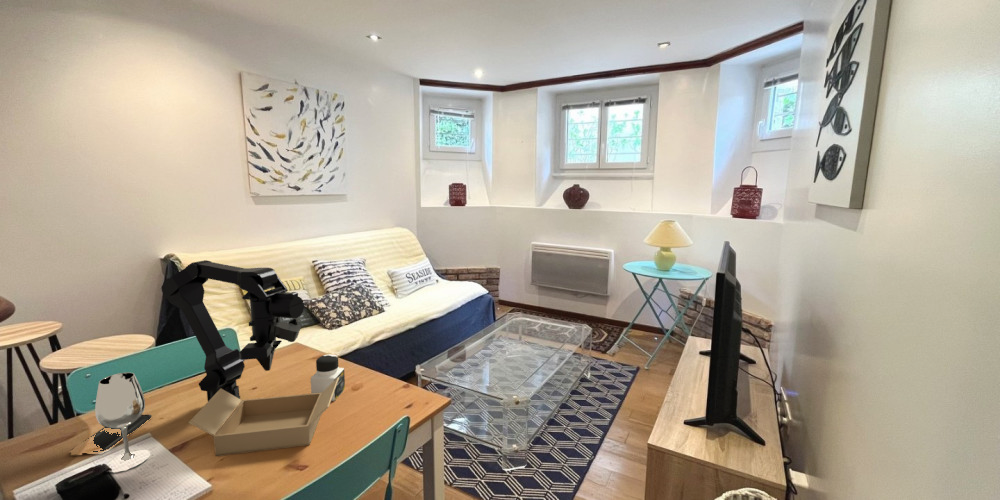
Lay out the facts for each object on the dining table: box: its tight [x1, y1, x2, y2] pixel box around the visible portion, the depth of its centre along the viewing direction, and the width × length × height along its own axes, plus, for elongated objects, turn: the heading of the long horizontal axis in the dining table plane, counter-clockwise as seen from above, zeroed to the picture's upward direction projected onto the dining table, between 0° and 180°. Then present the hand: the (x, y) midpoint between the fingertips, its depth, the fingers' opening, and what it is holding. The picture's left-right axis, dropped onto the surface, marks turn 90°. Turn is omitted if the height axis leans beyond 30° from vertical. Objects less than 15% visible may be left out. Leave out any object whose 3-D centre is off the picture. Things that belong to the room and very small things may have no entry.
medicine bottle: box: [310, 353, 346, 402], centre depth 116 cm, size 7×7×12 cm
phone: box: [84, 414, 153, 452], centre depth 96 cm, size 8×1×15 cm
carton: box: [213, 393, 322, 457], centre depth 99 cm, size 20×16×5 cm
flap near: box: [188, 388, 242, 437], centre depth 95 cm, size 6×15×1 cm
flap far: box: [309, 377, 339, 425], centre depth 101 cm, size 6×15×1 cm
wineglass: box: [94, 371, 146, 461], centre depth 86 cm, size 8×8×20 cm
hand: (267, 370), depth 106 cm, fingers closed
